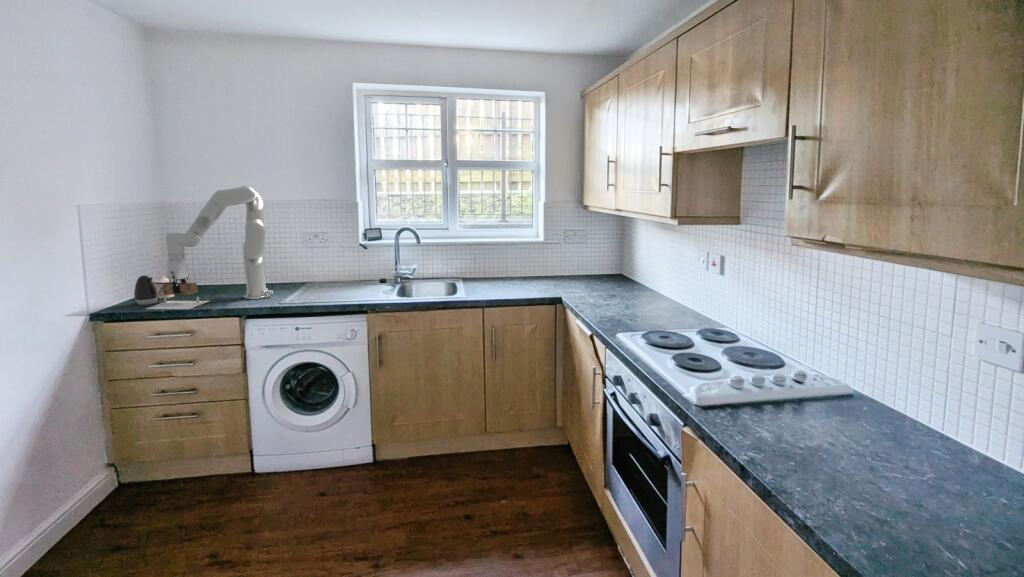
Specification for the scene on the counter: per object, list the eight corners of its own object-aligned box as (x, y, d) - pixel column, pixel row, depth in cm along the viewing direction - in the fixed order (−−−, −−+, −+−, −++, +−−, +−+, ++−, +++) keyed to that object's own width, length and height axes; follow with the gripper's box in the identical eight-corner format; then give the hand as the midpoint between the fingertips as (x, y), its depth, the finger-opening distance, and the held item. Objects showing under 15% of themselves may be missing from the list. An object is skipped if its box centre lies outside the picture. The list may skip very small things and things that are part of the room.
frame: (197, 292, 289) (196, 282, 288) (190, 294, 283) (189, 285, 282) (170, 292, 289) (169, 282, 288) (163, 294, 283) (162, 284, 282)
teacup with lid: (158, 299, 297) (156, 278, 294) (152, 297, 302) (150, 276, 300) (183, 296, 305) (180, 275, 303) (177, 294, 311) (174, 273, 309)
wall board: (210, 301, 292) (209, 295, 291) (189, 310, 273) (188, 303, 272) (168, 301, 292) (167, 295, 291) (145, 310, 273) (144, 302, 272)
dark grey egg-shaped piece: (146, 307, 279) (142, 277, 276) (130, 306, 282) (126, 276, 279) (163, 303, 289) (160, 274, 286) (148, 301, 292) (144, 273, 289)
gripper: (179, 254, 291) (183, 288, 294) (158, 259, 274) (162, 295, 277) (193, 255, 290) (197, 288, 294) (173, 259, 274) (177, 295, 277)
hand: (180, 291), depth 285 cm, fingers closed on frame, 6 cm apart
